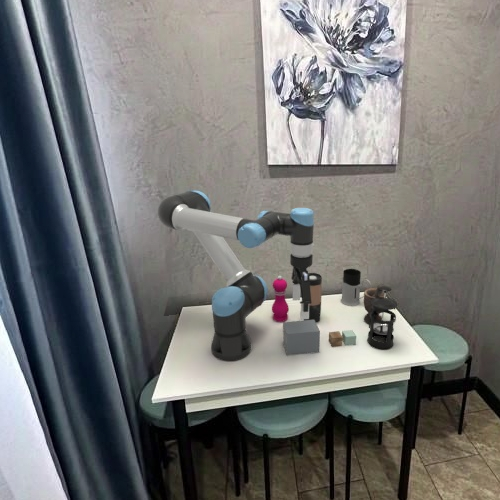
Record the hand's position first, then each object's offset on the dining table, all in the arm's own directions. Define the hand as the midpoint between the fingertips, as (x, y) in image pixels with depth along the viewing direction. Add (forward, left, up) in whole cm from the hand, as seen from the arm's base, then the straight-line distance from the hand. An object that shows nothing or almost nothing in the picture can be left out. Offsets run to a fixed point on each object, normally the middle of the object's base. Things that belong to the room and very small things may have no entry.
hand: (300, 308), depth 128 cm
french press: (+30, -1, -17) cm, 34 cm away
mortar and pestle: (+34, +12, -17) cm, 40 cm away
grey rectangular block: (0, 0, -16) cm, 16 cm away
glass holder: (+32, +29, -17) cm, 46 cm away
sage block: (+19, 0, -16) cm, 25 cm away
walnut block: (+14, 0, -16) cm, 21 cm away
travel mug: (+9, +19, -17) cm, 27 cm away
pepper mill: (-4, +22, -17) cm, 28 cm away
